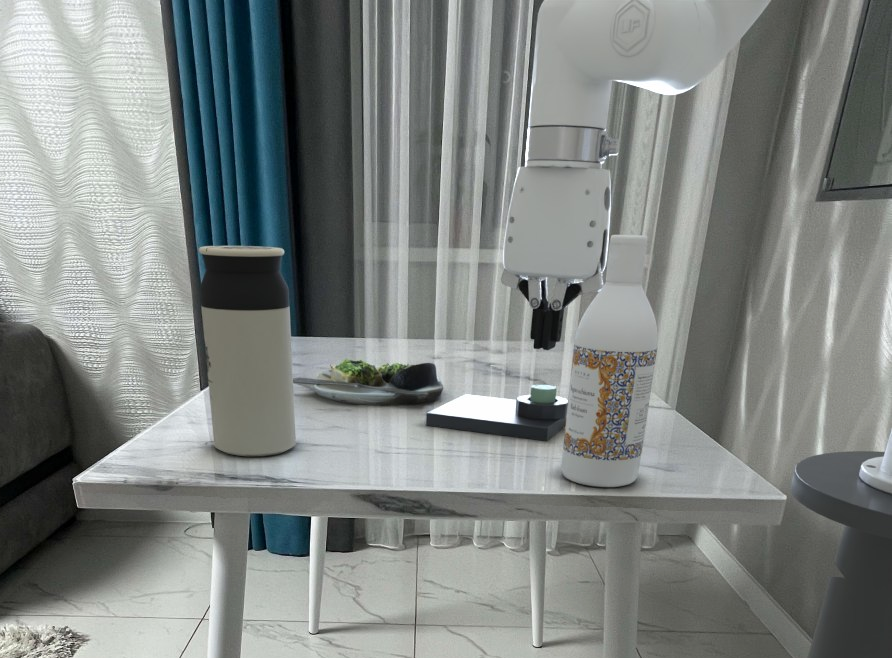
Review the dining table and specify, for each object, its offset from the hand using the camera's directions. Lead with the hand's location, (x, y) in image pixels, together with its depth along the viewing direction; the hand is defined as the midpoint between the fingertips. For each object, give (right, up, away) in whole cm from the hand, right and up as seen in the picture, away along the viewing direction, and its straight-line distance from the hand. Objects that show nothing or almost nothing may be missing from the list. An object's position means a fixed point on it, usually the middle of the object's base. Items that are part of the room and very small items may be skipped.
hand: (544, 347), depth 88 cm
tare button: (0, -5, +3) cm, 6 cm away
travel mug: (-30, -13, -7) cm, 33 cm away
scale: (-4, -7, +5) cm, 9 cm away
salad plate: (-18, 0, +18) cm, 26 cm away
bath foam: (+3, -17, -13) cm, 22 cm away
